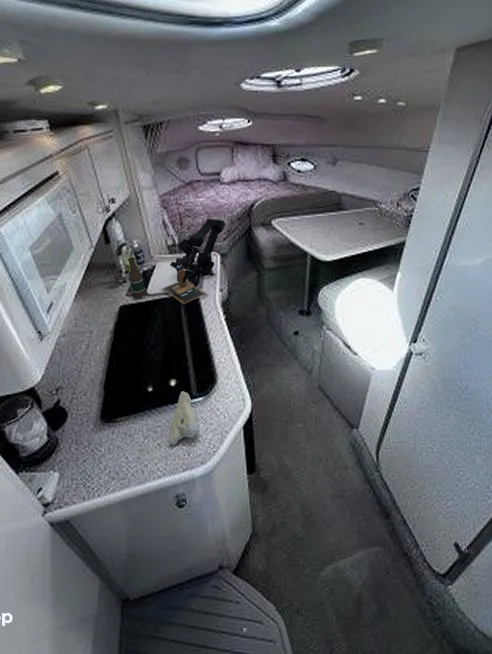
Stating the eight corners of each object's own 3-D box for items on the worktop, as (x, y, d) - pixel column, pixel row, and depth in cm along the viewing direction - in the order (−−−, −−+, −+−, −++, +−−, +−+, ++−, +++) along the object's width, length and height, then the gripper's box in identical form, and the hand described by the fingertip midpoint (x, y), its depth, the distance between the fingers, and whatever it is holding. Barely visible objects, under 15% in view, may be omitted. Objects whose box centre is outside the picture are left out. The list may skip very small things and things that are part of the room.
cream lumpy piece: (192, 456, 107) (215, 412, 110) (173, 451, 104) (197, 405, 107) (176, 434, 120) (196, 395, 123) (158, 428, 116) (180, 388, 120)
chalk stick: (187, 292, 192) (187, 291, 192) (192, 289, 194) (192, 289, 194) (188, 292, 192) (188, 292, 191) (193, 290, 194) (192, 289, 194)
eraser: (172, 291, 192) (169, 272, 185) (188, 284, 199) (186, 265, 191) (178, 296, 188) (176, 277, 181) (194, 288, 195) (192, 269, 188)
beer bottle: (135, 292, 197) (126, 255, 186) (148, 292, 197) (140, 255, 185) (131, 299, 190) (121, 261, 179) (144, 299, 190) (135, 261, 178)
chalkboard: (162, 290, 198) (162, 288, 197) (184, 281, 206) (184, 279, 206) (183, 306, 182) (183, 304, 181) (206, 295, 190) (206, 293, 189)
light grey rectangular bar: (181, 295, 189) (180, 295, 189) (186, 293, 190) (186, 293, 190) (181, 296, 188) (181, 295, 188) (187, 294, 190) (187, 293, 190)
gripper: (169, 248, 189) (159, 274, 186) (195, 254, 180) (185, 281, 177) (180, 256, 199) (171, 280, 196) (205, 261, 190) (196, 287, 187)
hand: (180, 282), depth 189 cm, fingers closed on eraser, 4 cm apart
